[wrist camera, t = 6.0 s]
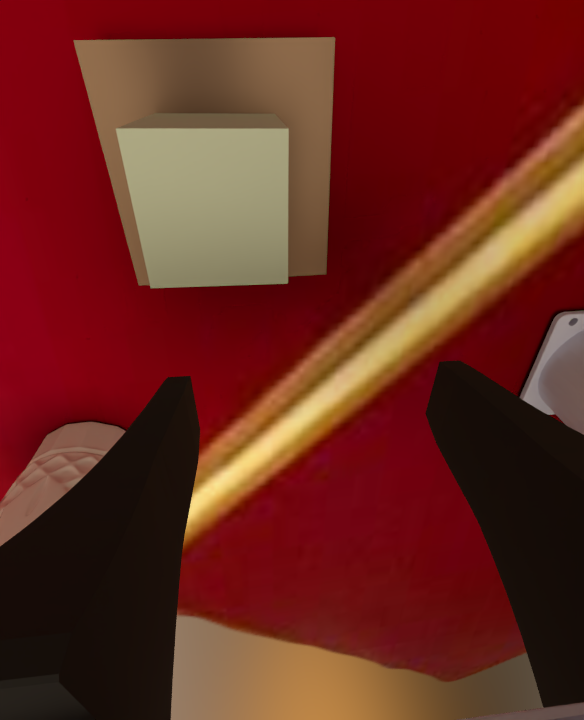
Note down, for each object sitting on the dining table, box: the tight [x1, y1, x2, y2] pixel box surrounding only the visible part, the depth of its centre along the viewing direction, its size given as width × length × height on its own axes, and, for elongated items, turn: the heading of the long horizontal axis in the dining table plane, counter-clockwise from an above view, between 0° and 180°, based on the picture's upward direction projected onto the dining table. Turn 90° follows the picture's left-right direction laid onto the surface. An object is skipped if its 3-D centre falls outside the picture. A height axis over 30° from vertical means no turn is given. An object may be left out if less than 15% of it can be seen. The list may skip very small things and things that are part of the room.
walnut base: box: [74, 37, 335, 285], centre depth 16 cm, size 8×8×3 cm
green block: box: [116, 113, 289, 288], centre depth 12 cm, size 4×4×5 cm
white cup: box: [0, 422, 126, 546], centre depth 21 cm, size 8×8×10 cm
